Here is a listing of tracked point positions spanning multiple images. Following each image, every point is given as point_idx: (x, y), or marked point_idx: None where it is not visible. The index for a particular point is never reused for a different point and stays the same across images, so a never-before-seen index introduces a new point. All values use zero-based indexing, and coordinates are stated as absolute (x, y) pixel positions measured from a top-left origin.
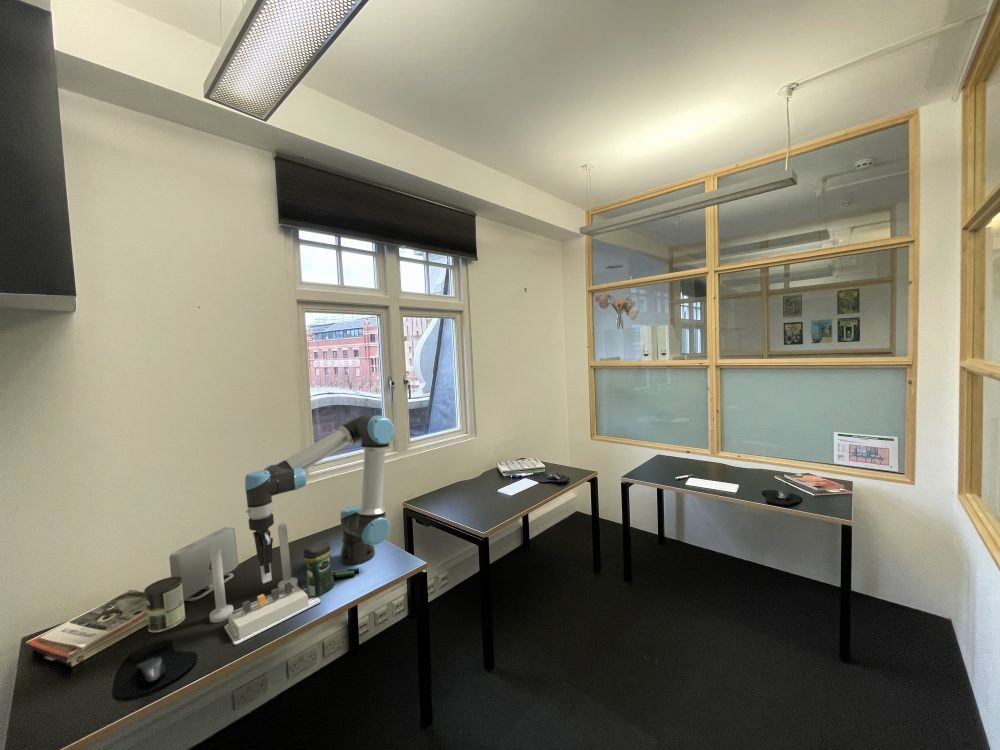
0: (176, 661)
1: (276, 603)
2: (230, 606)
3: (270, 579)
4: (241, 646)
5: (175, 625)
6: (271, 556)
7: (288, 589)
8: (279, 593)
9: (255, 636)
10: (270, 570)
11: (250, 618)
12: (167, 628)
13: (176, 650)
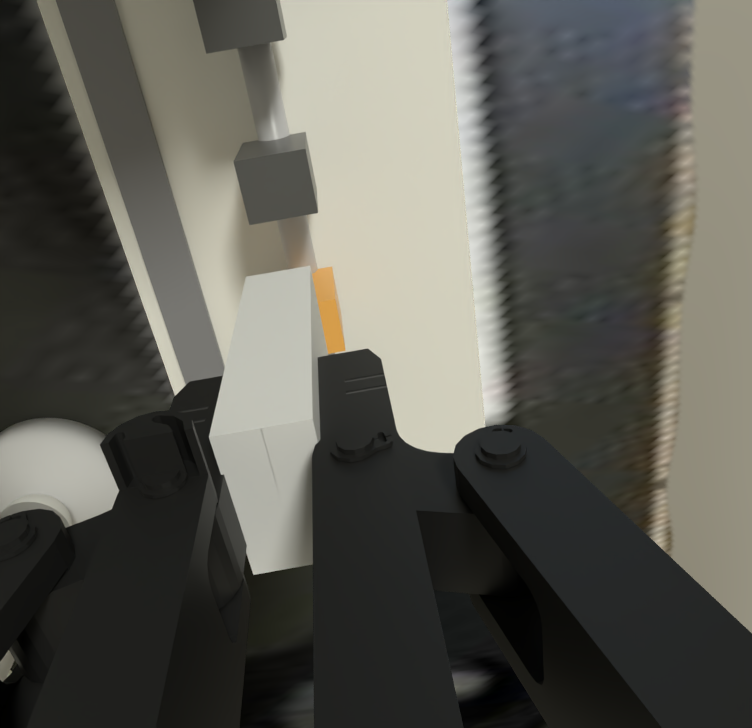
0: None
1: (344, 164)
2: (11, 457)
3: (313, 287)
4: (555, 395)
5: (9, 672)
6: (654, 561)
7: (281, 16)
8: (145, 100)
9: (517, 319)
10: (310, 336)
11: (428, 376)
12: None
13: (301, 643)
